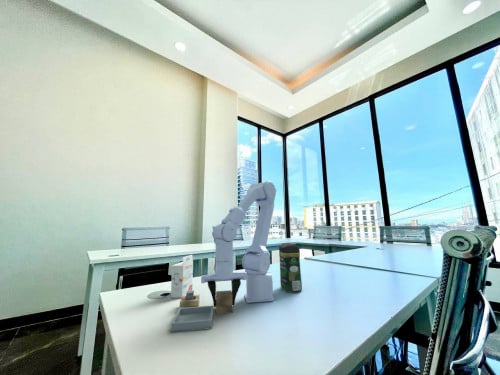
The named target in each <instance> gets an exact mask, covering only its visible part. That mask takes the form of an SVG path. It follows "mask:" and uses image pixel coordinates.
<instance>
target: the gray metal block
mask: <svg viewBox="0 0 500 375" xmlns="http://www.w3.org/2000/svg"><path fill="white" fill-rule="evenodd" d="M194 295H195V290H192V291H187V293H186V300H194Z"/></svg>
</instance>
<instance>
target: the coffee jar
mask: <svg viewBox="0 0 500 375" xmlns="http://www.w3.org/2000/svg"><path fill="white" fill-rule="evenodd" d="M278 251H279V252H278V256H279V274H280V287H281V289H282V290H283V291H284V292H287V293H288V292H289V293H298V292H300V291H301V292H302V290H303V281H302V272H301V260H300V257H301V252H300V247H299V245H297V244H294V243H290V242H285V243H284V242H282V243H281V244H280V245H279V246H278Z"/></svg>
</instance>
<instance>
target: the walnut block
mask: <svg viewBox="0 0 500 375" xmlns="http://www.w3.org/2000/svg"><path fill="white" fill-rule="evenodd" d="M230 313H233V305H232V289H231V290H218V291H217V290H216V307H215V314H216V315H220V314H230Z"/></svg>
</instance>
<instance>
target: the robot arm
mask: <svg viewBox="0 0 500 375" xmlns="http://www.w3.org/2000/svg"><path fill="white" fill-rule="evenodd" d="M276 195H277V188H276V186H275V184H274V183H273V181H272V180H266V181H263V182H260V183H259V182H258V183H252V184H251V185H250V187H248V188H247V192H246V194H245V195H244V197H243V198H242V200H241V202H239V204H238V205H237V207H236V206H235V207H232V208H230V209H229V210H228V214H227V215H226V216H225V217H224V218H223V219H221V223H219V224H217V225H215V227H214V228H213V231H212V232H211V235H212V238H213V240H214V245H215V256H214V257H215V260H214V262H215V263H214V264H215V265H214V266H215V267H214V268H215V270H214V271H215V273H212V274H205V275H204V274H203V275H201V277H200V278H201V279H200V280H201V284H205V283H207V286H208V287H207V288H208V290H209V292H210V295H211V298H212V301H213V308H216V291H217V283H216V282H227V281H228V282H229V281H231V292H232V306H235V302H236V297H237V294H238V292H239V289H240V287H241V285H242V283H241V280H242V281H246V284H245V285H246V286H245V287H246V293H245V294H244V298H245V301H246V303H248V304H249V303H250V304H252V303H263V302H274V301H275V300H274V286H273V284H274V283H273V282H274V281H273V276H272V273H271V272H269V269H270V266H271V260H270V257H271V253H270V252H269V250H268V249H267V243H268V237H269V234H270V229H271V225H272V220H273V219H272V218H273V214H274V210H275V209H274V208H275V200H276V199H275V198H276ZM254 202H255V203H256V204H257V205H258V206H259V207H260V209H259V214H258V217H257V221H256V224H255V230H254V233H253V238H252V243H251V245H249V247H247V248H246V250H245V253H244V255H243V256H242V259H241V266H242V268H243V269H244V272H234V257H233V256H234V247H233V245H234V240H235V238H237V231H238V228H239V227H240V225H242V223H243V222H244V220H245V218H246V212H247V211H248V210H249V208H250V207H252V205H253V204H254Z"/></svg>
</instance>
